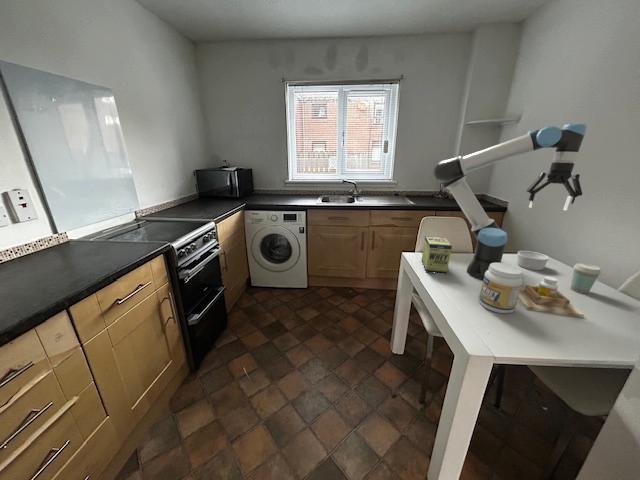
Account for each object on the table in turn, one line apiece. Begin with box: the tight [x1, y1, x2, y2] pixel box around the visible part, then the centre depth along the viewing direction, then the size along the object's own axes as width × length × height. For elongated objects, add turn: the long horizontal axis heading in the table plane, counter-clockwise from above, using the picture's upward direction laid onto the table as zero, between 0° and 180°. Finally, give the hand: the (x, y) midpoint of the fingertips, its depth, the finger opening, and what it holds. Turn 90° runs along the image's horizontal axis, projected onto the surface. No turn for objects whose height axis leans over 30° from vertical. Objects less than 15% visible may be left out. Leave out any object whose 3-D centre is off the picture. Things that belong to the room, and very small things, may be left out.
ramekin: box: [516, 250, 550, 271], centre depth 138 cm, size 13×13×7 cm
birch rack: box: [517, 284, 585, 318], centre depth 103 cm, size 18×16×5 cm
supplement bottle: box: [537, 275, 559, 297], centre depth 102 cm, size 5×5×10 cm
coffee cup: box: [570, 262, 602, 295], centre depth 112 cm, size 8×8×12 cm
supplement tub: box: [478, 262, 524, 314], centre depth 99 cm, size 12×12×17 cm
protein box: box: [421, 235, 453, 275], centre depth 134 cm, size 10×16×16 cm
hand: (547, 209), depth 118 cm, fingers open, 13 cm apart
